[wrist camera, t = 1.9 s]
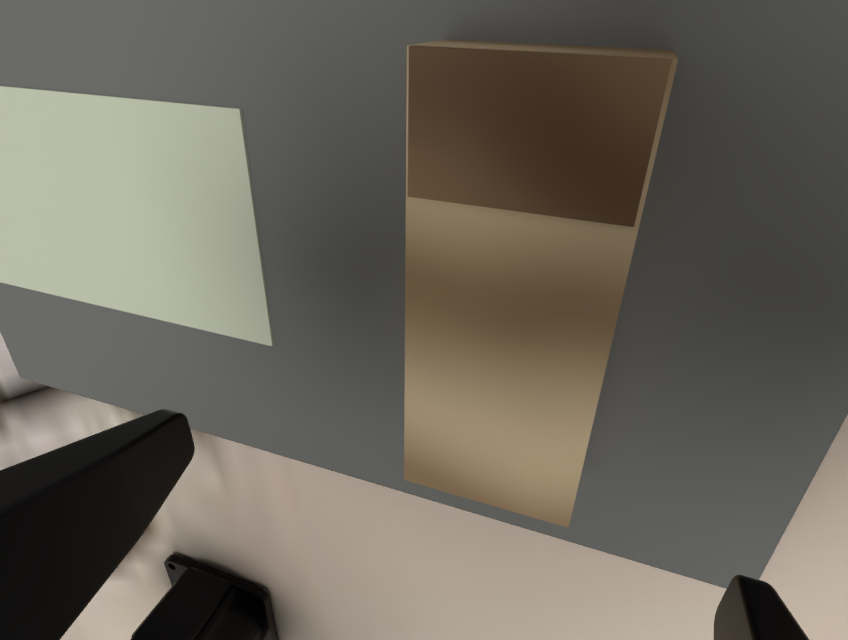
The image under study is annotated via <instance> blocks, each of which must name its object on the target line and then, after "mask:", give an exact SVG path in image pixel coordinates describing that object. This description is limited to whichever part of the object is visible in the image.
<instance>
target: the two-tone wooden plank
mask: <svg viewBox="0 0 848 640" xmlns="http://www.w3.org/2000/svg"><path fill="white" fill-rule="evenodd" d="M677 63H678V58H677V56H676V54H675V53H674V51H673V50H662V49H641V48H620V47H599V46H578V45H557V44H536V43H515V42H494V41H473V40H453V39H443V40H437V41H431V42H425V43H419V44H412V45H407V100H406V249H405V399H404V480H406V481H410V482H413V483H416V484H420V485H423V486H427V487H430V488H434V489H437V490H440V491H444V492H447V493H451V494H454V495H457V496H461V497H464V498H468V499H471V500H475V501H478V502H481V503H485V504H488V505H492V506H495V507H499V508H502V509H505V510H509V511H512V512H516V513H519V514H523V515H526V516H529V517H533V518H536V519H540V520H543V521H547V522H550V523H553V524H557V525H560V526H564V527H567V528H569V524H570V519H571V515H572V511H573V507H574V502H575V498H576V494H577V490H578V485H579V481H580V477H581V473H582V468H583V464H584V460H585V455H586V451H587V447H588V443H589V438H590V434H591V430H592V426H593V421H594V417H595V413H596V408H597V404H598V400H599V396H600V391H601V387H602V383H603V379H604V374H605V370H606V366H607V362H608V357H609V353H610V349H611V344H612V340H613V336H614V332H615V327H616V323H617V319H618V315H619V310H620V306H621V302H622V297H623V293H624V289H625V285H626V280H627V276H628V272H629V268H630V263H631V259H632V255H633V251H634V246H635V242H636V238H637V233H638V229H639V225H640V221H641V216H642V212H643V208H644V204H645V199H646V195H647V191H648V186H649V182H650V178H651V174H652V169H653V165H654V161H655V157H656V152H657V148H658V144H659V140H660V135H661V131H662V127H663V122H664V118H665V114H666V110H667V105H668V101H669V97H670V93H671V88H672V84H673V80H674V75H675V71H676V67H677Z"/></svg>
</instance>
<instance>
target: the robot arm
mask: <svg viewBox="0 0 848 640" xmlns="http://www.w3.org/2000/svg"><path fill="white" fill-rule="evenodd" d="M194 448H195V447H194V442H193V438H192V434H191V430H190V426H189V422H188V419H187V417H186V416H185V415H184V414H183V413H180V412H177V411H174V410H170V409H160V410H157V411H155V412H152V413H149V414H147V415H144V416H142V417H139V418H136V419H134V420H131V421H129V422H126V423H123V424H121V425H118V426H115V427H113V428H110V429H108V430H105V431H102V432H100V433H97V434H95V435H92V436H89V437H87V438H84V439H81V440H79V441H76V442H74V443H71V444H68V445H66V446H63V447H61V448H58V449H55V450H53V451H50V452H47V453H45V454H42V455H40V456H37V457H34V458H32V459H29V460H27V461H24V462H21V463H19V464H16V465H14V466H11V467H8V468H6V469H3V470H0V640H60V639H61V637H62V636H63V635H64V634H65V632H66V631H67V630H68V629H69V627H70V626H71V625H72V623H73V622H74V621H75V620H76V618H77V617H78V616H79V615H80V613H81V612H82V611H83V610H84V608H85V607H86V606H87V604H88V603H89V602H90V601H91V599H92V598H93V597H94V596H95V594H96V593H97V592H98V591H99V589H100V588H101V587H102V585H103V584H104V583H105V582H106V580H107V579H108V578H109V577H110V575H111V574H112V573H113V572H114V570H115V569H116V568H117V566H118V565H119V564H120V563H121V561H122V560H123V559H124V558H125V556H126V555H127V554H128V553H129V551H130V550H131V549H132V547H133V546H134V545H135V544H136V542H137V541H138V540H139V538H140V537H141V536H142V534H143V533H144V531H145V530H146V529H147V527H148V526H149V524H150V523H151V521H152V520H153V518H154V517H155V515H156V514H157V512H158V511H159V509H160V508H161V506H162V504H163V503H164V501H165V500H166V498H167V497H168V495H169V494H170V492H171V491H172V489H173V488H174V486H175V485H176V483H177V481H178V480H179V478H180V477H181V475H182V474H183V472H184V471H185V469H186V468H187V466H188V465H189V463H190V461H191V460H192V457H193V455H194ZM164 563H165V567H166V570H167V572H168V575H169V578H170V581H171V584H172V587H171V588H170V589H169V591H168V592H167V593H166V594H165V595H164V597H163V598H162V599H161V600H160V602H159V603H158V604H157V605H156V606H155V608H154V609H153V610H152V611H151V612H150V614H149V615H148V616H147V617H146V618H145V620H144V621H143V622H142V623H141V625H140V626H139V627H138V628H137V629H136V631H135V632H134V633H133V635H132V638H131V640H277V635H276V630H275V625H274V620H273V615H272V610H271V605H270V600H269V595H268V593H267V592H266V591H265V590H263V589H262V588H260V587H257V586H255V585H252V584H250V583H247V582H244V581H242V580H239V579H236V578H234V577H231V576H229V575H226V574H223V573H221V572H218V571H215V570H213V569H210V568H208V567H205V566H202V565H200V564H197V563H195V562H192V561H189V560H187V559H184V558H181V557H179V556H176V555H173V554H172V555H170V556H169V557H168V558H167V559H166V561H165V562H164ZM714 640H809V639H808V637H807V636H806V634H805V633H804V631H803V630H802V629H801V627H800V626H799V624H798V623H797V621H796V620H795V618H794V617H793V615H792V614H791V613H790V611H789V610H788V608H787V607H786V605H785V604H784V602H783V601H782V599H781V598H780V596H779V595H778V594H777V592H776V591H775V589H774V588H773V587H772V586H771V585H770V584H768V583H766V582H764V581H761V580H757V579H754V578H750V577H747V576H743V575H736V576H734V577H733V578H732V580H731V582H730V584H729V586H728V588H727V590H726V592H725V594H724V596H723V598H722V600H721V602H720V604H719V606H718V608H717V610H716V614H715V620H714Z"/></svg>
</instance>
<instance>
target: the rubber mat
mask: <svg viewBox="0 0 848 640" xmlns="http://www.w3.org/2000/svg"><path fill="white" fill-rule="evenodd" d="M443 39H453V40H473V41H494V42H515V43H536V44H557V45H578V46H599V47H620V48H641V49H662V50H673V51H674V53H675V54H676V56H677V58H678V63H677V67H676V71H675V75H674V80H673V84H672V88H671V93H670V97H669V101H668V105H667V110H666V114H665V118H664V122H663V127H662V131H661V135H660V140H659V144H658V148H657V152H656V157H655V161H654V165H653V169H652V174H651V178H650V182H649V186H648V191H647V195H646V199H645V204H644V208H643V212H642V216H641V221H640V225H639V229H638V233H637V238H636V242H635V246H634V251H633V255H632V259H631V263H630V268H629V272H628V276H627V280H626V285H625V289H624V293H623V297H622V302H621V306H620V310H619V315H618V319H617V323H616V327H615V332H614V336H613V340H612V344H611V349H610V353H609V357H608V362H607V366H606V370H605V374H604V379H603V383H602V387H601V391H600V396H599V400H598V404H597V408H596V413H595V417H594V421H593V426H592V430H591V434H590V438H589V443H588V447H587V451H586V455H585V460H584V464H583V468H582V473H581V477H580V481H579V485H578V490H577V494H576V498H575V502H574V507H573V511H572V515H571V519H570V524H569V528H567V527H564V526H560V525H557V524H553V523H550V522H547V521H543V520H540V519H536V518H533V517H529V516H526V515H523V514H519V513H516V512H512V511H509V510H505V509H502V508H499V507H495V506H492V505H488V504H485V503H481V502H478V501H475V500H471V499H468V498H464V497H461V496H457V495H454V494H451V493H447V492H444V491H440V490H437V489H434V488H430V487H427V486H423V485H420V484H416V483H413V482H410V481H406V480H404V399H405V249H406V100H407V45H412V44H419V43H425V42H431V41H437V40H443ZM0 332H1V334H2V336H3V339H4V341H5V343H6V345H7V348H8V350H9V352H10V355H11V357H12V359H13V362H14V364H15V366H16V369H17V371H18V373H19V376H20V378H24V379H27V380H30V381H34V382H37V383H40V384H44V385H47V386H50V387H54V388H57V389H61V390H64V391H67V392H71V393H74V394H77V395H81V396H84V397H87V398H91V399H94V400H97V401H101V402H104V403H107V404H111V405H114V406H117V407H121V408H124V409H127V410H131V411H134V412H137V413H141V414H144V415H147V414H149V413H152V412H155V411H157V410H160V409H170V410H174V411H177V412H180V413H183V414H184V415H185V416H186V417H187V419H188V422H189V426H190V428H191V429H194V430H198V431H201V432H204V433H208V434H211V435H214V436H218V437H221V438H225V439H228V440H231V441H235V442H238V443H241V444H245V445H248V446H251V447H255V448H258V449H261V450H265V451H268V452H271V453H275V454H278V455H281V456H285V457H288V458H291V459H295V460H298V461H302V462H305V463H308V464H312V465H315V466H318V467H322V468H325V469H328V470H332V471H335V472H338V473H342V474H345V475H348V476H352V477H355V478H358V479H362V480H365V481H368V482H372V483H375V484H378V485H382V486H385V487H389V488H392V489H395V490H399V491H402V492H405V493H409V494H412V495H415V496H419V497H422V498H425V499H429V500H432V501H435V502H439V503H442V504H445V505H449V506H452V507H455V508H459V509H462V510H466V511H469V512H472V513H476V514H479V515H482V516H486V517H489V518H492V519H496V520H499V521H502V522H506V523H509V524H512V525H516V526H519V527H522V528H526V529H529V530H532V531H536V532H539V533H543V534H546V535H549V536H553V537H556V538H559V539H563V540H566V541H569V542H573V543H576V544H579V545H583V546H586V547H589V548H593V549H596V550H599V551H603V552H606V553H609V554H613V555H616V556H620V557H623V558H626V559H630V560H633V561H636V562H640V563H643V564H646V565H650V566H653V567H656V568H660V569H663V570H666V571H670V572H673V573H676V574H680V575H683V576H686V577H690V578H693V579H696V580H700V581H703V582H707V583H710V584H713V585H717V586H720V587H723V588H728V586H729V584H730V582H731V580H732V578H733V577H734V576H736V575H743V576H747V577H750V578H754V579H757V580H759V578H760V576H761V575H762V573H763V571H764V569H765V567H766V565H767V563H768V561H769V560H770V558H771V556H772V554H773V552H774V550H775V548H776V546H777V545H778V543H779V541H780V539H781V537H782V535H783V533H784V532H785V530H786V528H787V526H788V524H789V522H790V520H791V518H792V517H793V515H794V513H795V511H796V509H797V507H798V505H799V504H800V502H801V500H802V498H803V496H804V494H805V492H806V490H807V489H808V487H809V485H810V483H811V481H812V479H813V477H814V475H815V474H816V472H817V470H818V468H819V466H820V464H821V462H822V461H823V459H824V457H825V455H826V453H827V451H828V449H829V447H830V446H831V444H832V442H833V440H834V438H835V436H836V434H837V432H838V431H839V429H840V427H841V425H842V423H843V421H844V419H845V418H846V416H847V414H848V0H0Z"/></svg>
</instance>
